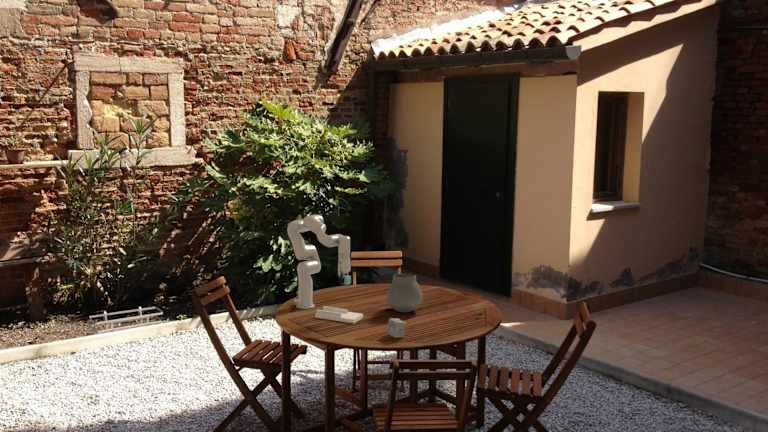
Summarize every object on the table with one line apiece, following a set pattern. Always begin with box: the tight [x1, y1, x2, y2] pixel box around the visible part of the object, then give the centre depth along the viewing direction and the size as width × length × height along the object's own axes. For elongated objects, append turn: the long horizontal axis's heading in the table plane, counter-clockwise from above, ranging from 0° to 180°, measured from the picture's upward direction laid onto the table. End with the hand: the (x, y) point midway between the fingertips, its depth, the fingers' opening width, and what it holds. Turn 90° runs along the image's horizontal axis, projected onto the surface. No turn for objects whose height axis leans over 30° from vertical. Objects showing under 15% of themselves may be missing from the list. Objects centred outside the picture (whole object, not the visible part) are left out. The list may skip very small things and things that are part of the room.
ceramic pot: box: [385, 273, 423, 313], centre depth 478 cm, size 24×24×25 cm
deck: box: [314, 305, 364, 324], centre depth 461 cm, size 28×14×4 cm, turn 67°
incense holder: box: [386, 317, 408, 339], centre depth 426 cm, size 10×8×10 cm
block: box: [343, 274, 352, 286], centre depth 458 cm, size 5×5×5 cm
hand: (343, 282), depth 459 cm, fingers closed on block, 5 cm apart
